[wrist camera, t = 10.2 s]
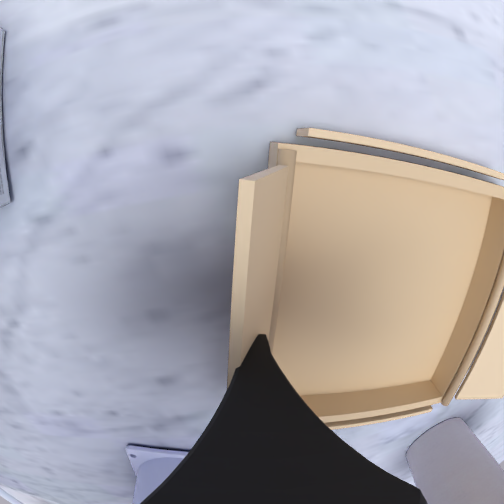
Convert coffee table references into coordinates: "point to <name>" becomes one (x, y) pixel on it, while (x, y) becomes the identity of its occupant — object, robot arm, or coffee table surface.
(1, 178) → the tea box
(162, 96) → the coffee table surface
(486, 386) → the flap far
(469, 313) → the carton
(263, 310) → the flap near
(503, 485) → the coffee cup
